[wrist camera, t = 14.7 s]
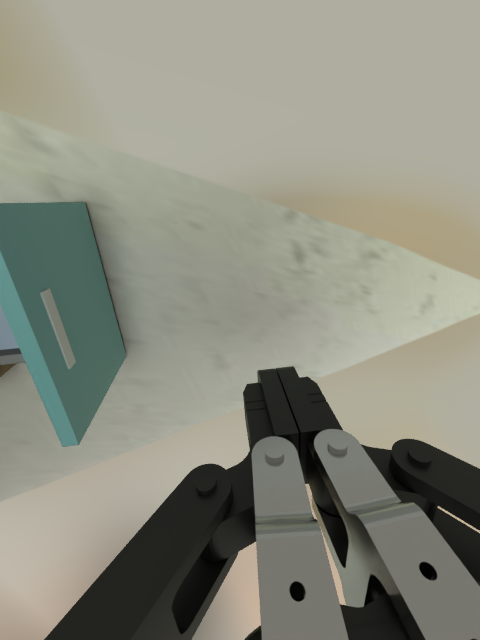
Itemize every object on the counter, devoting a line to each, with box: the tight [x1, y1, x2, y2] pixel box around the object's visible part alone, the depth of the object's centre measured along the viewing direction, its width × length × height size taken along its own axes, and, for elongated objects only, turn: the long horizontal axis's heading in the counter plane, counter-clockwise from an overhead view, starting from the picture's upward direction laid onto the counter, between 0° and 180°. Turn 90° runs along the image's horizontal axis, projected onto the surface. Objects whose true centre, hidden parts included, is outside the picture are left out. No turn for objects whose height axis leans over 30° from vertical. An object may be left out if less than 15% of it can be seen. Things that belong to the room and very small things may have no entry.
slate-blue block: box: [0, 305, 19, 350], centre depth 26 cm, size 5×5×6 cm
